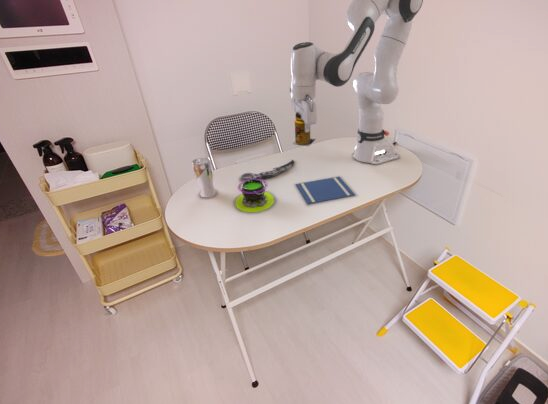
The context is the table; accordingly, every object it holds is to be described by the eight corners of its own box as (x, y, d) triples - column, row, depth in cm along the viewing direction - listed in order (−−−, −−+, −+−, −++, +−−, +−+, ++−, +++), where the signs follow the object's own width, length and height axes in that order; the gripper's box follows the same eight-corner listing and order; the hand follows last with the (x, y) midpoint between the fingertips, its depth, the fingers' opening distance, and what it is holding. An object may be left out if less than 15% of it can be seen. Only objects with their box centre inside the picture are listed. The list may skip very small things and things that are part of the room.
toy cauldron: (277, 208, 114) (275, 183, 108) (237, 215, 111) (232, 189, 105) (270, 189, 126) (268, 165, 120) (234, 194, 123) (229, 170, 117)
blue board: (339, 177, 135) (339, 176, 134) (354, 195, 122) (354, 194, 122) (296, 184, 129) (296, 183, 129) (307, 204, 117) (307, 203, 116)
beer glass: (202, 189, 127) (195, 156, 118) (219, 189, 126) (212, 156, 118) (197, 198, 121) (188, 164, 112) (214, 198, 121) (206, 164, 112)
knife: (292, 158, 148) (303, 165, 141) (292, 161, 149) (303, 168, 142) (237, 174, 136) (246, 182, 128) (238, 177, 137) (246, 185, 129)
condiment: (291, 144, 121) (290, 114, 114) (300, 137, 127) (299, 108, 121) (308, 147, 118) (308, 116, 112) (316, 139, 125) (316, 110, 118)
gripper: (321, 98, 104) (320, 136, 112) (303, 85, 120) (303, 120, 128) (303, 99, 102) (304, 138, 110) (288, 87, 119) (289, 121, 126)
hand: (303, 128), depth 119 cm, fingers closed on condiment, 6 cm apart
